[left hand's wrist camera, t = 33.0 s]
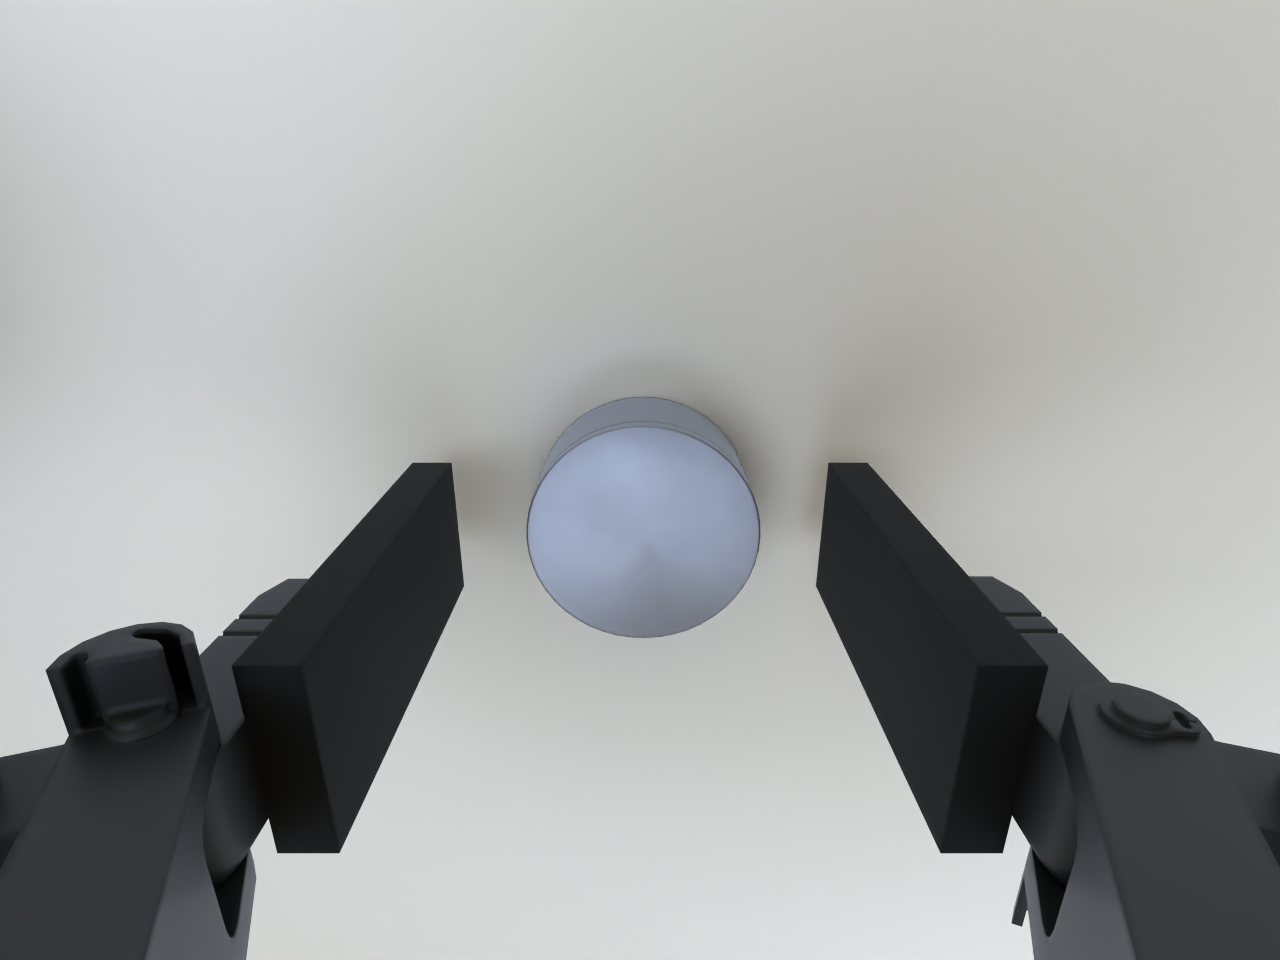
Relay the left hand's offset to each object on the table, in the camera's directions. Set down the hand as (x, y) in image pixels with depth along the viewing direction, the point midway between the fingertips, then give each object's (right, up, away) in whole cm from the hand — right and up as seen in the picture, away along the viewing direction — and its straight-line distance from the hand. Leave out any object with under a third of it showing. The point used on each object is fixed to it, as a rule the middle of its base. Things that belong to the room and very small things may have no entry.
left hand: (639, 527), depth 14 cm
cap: (0, 0, 0) cm, 0 cm away
